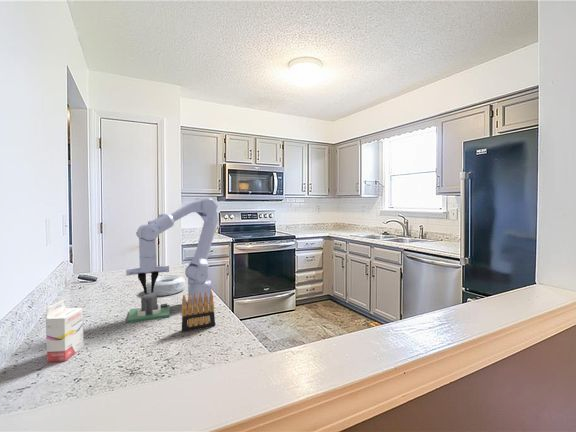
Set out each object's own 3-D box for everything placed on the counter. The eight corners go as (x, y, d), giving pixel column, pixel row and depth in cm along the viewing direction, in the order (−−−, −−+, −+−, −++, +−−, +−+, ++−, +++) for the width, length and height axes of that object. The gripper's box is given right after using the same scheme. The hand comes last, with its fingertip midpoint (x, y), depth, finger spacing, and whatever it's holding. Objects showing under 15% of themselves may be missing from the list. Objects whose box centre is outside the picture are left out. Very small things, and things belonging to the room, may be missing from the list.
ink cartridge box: (66, 361, 81) (63, 307, 80) (46, 362, 81) (44, 308, 80) (84, 346, 90) (83, 297, 89) (67, 347, 89) (65, 297, 88)
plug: (157, 309, 117) (156, 294, 116) (150, 314, 112) (150, 298, 111) (147, 309, 117) (146, 294, 117) (140, 314, 112) (139, 298, 112)
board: (169, 306, 123) (169, 300, 123) (169, 317, 112) (169, 310, 112) (130, 311, 118) (130, 305, 118) (126, 323, 107) (126, 316, 106)
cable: (174, 284, 158) (174, 272, 157) (193, 290, 146) (192, 278, 146) (140, 292, 145) (139, 279, 144) (157, 299, 133) (157, 285, 133)
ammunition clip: (182, 332, 99) (181, 295, 98) (181, 329, 101) (180, 294, 100) (215, 326, 103) (214, 291, 103) (214, 324, 105) (213, 289, 105)
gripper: (168, 253, 120) (169, 287, 121) (127, 256, 115) (128, 291, 115) (168, 256, 114) (169, 292, 114) (125, 259, 108) (126, 297, 109)
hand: (149, 292), depth 114 cm, fingers closed
